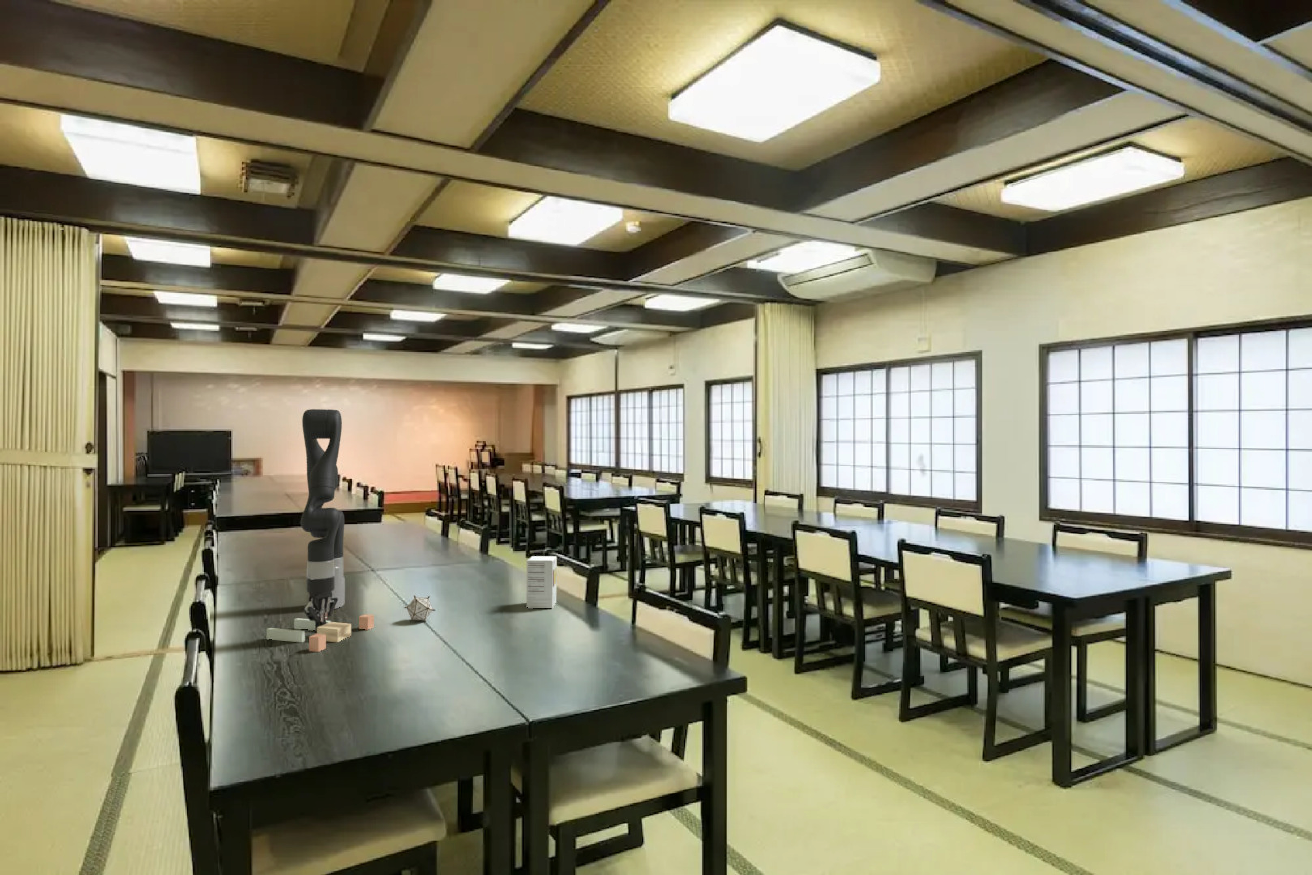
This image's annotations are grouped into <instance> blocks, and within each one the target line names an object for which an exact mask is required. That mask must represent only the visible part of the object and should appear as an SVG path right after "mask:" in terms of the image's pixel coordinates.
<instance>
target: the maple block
mask: <svg viewBox="0 0 1312 875" xmlns="http://www.w3.org/2000/svg"><path fill="white" fill-rule="evenodd" d="M317 634H326V642H331V643H332V642H333V643H339V642H341V640H342V641H344V640H346V639H348V638H347V637H349V638H351V637H352V623H347V622H345V623H344V622H333V621H331V622H330V623H327V624H324V625H322V626H319V627H317ZM350 636H351V637H350ZM345 638H346V639H345ZM343 639H344V640H343Z"/></svg>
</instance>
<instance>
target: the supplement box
mask: <svg viewBox="0 0 1312 875" xmlns="http://www.w3.org/2000/svg"><path fill="white" fill-rule="evenodd" d="M557 558H558V557H557V556H556V555H555V556H553V555H551V556H550V555H548V556H547V555H546V556H545V555H543V556H542V555H540V556H539V555H536V556H535V555H532V556H530V558H528V559H527V560H526V608H527V607H528V608H527V609H533V608H552V609H554V607H555V606H556V604H557V569H558V568H557V566H558V565H557V563H558V562H557V560H558V559H557ZM555 603H556V604H555Z"/></svg>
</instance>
